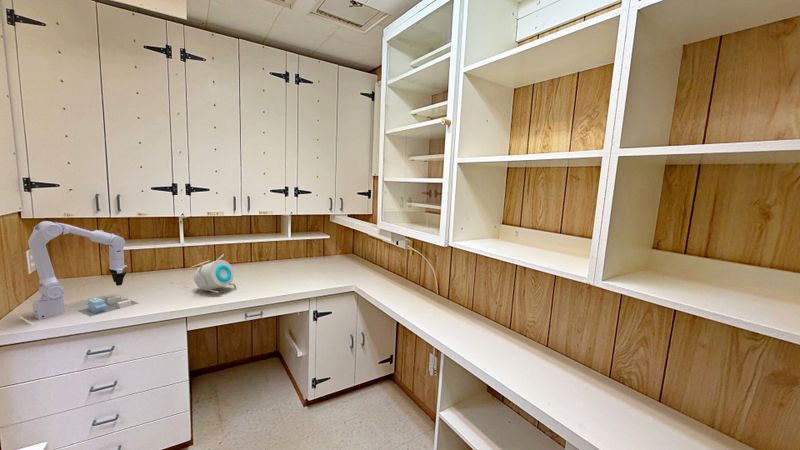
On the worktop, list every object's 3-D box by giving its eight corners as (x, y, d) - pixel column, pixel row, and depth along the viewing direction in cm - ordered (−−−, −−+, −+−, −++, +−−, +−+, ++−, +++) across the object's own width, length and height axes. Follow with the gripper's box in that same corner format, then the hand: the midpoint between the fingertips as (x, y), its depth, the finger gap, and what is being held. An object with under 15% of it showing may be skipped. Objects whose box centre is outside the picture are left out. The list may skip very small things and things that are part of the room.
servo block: (97, 313, 155) (96, 302, 154) (86, 309, 159) (85, 298, 158) (107, 311, 159) (106, 300, 158) (96, 306, 163) (96, 295, 162)
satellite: (209, 256, 209) (173, 268, 186) (232, 248, 203) (198, 259, 180) (223, 289, 212) (189, 305, 188) (246, 281, 205) (214, 297, 182)
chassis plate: (90, 318, 152) (89, 311, 152) (77, 312, 157) (76, 305, 157) (139, 305, 170) (139, 298, 170) (126, 300, 175) (126, 293, 175)
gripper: (129, 260, 169) (130, 285, 170) (123, 254, 178) (124, 278, 180) (111, 262, 163) (112, 288, 165) (106, 256, 173) (107, 281, 175)
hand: (117, 283), depth 172 cm, fingers open, 7 cm apart
